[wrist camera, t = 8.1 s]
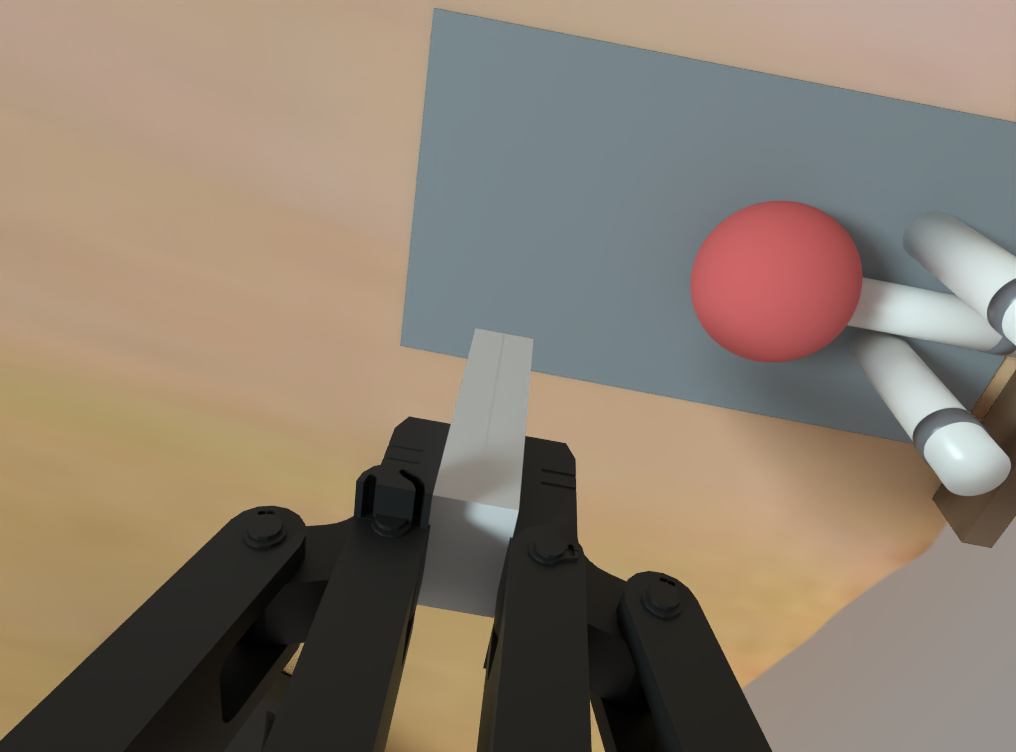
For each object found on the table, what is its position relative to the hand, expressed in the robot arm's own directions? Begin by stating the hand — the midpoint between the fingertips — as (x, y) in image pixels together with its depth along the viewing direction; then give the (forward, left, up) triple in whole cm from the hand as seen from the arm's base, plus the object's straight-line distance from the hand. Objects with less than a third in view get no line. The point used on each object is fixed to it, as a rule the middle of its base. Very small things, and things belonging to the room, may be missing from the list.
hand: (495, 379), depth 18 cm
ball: (+1, -9, -9) cm, 13 cm away
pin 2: (-2, -16, -12) cm, 20 cm away
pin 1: (+3, -16, -12) cm, 20 cm away
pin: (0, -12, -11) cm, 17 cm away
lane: (0, -8, -12) cm, 15 cm away
